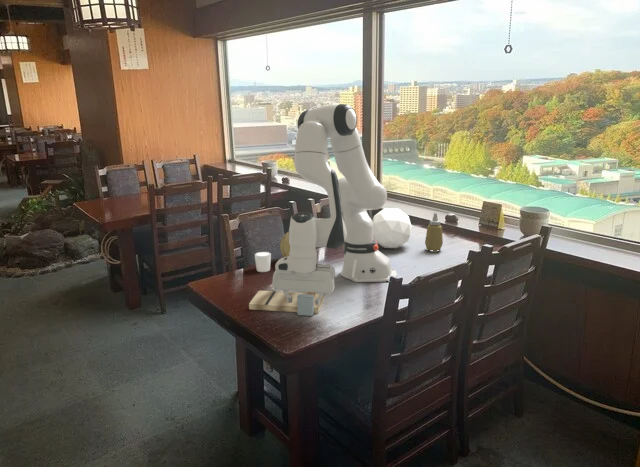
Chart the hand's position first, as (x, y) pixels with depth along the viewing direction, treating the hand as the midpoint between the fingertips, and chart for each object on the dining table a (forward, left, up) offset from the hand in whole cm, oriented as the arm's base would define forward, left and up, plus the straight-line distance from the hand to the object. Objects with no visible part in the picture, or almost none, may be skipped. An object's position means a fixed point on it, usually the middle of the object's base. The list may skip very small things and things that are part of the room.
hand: (303, 303), depth 158 cm
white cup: (+25, -41, -4) cm, 48 cm away
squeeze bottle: (-47, -77, -4) cm, 90 cm away
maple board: (+7, -8, -4) cm, 11 cm away
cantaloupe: (+13, -53, -4) cm, 54 cm away
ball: (-27, -80, -4) cm, 84 cm away
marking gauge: (-1, -6, -4) cm, 7 cm away
